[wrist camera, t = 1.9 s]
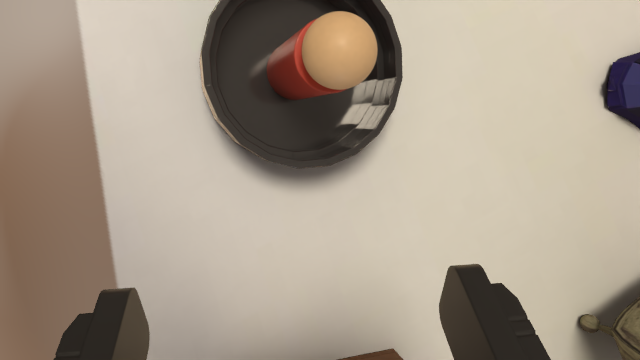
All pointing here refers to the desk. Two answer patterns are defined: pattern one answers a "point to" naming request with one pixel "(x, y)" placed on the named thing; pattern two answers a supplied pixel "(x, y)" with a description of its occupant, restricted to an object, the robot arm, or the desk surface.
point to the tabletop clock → (620, 330)
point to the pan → (284, 114)
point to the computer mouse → (625, 88)
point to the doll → (323, 57)
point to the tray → (377, 356)
